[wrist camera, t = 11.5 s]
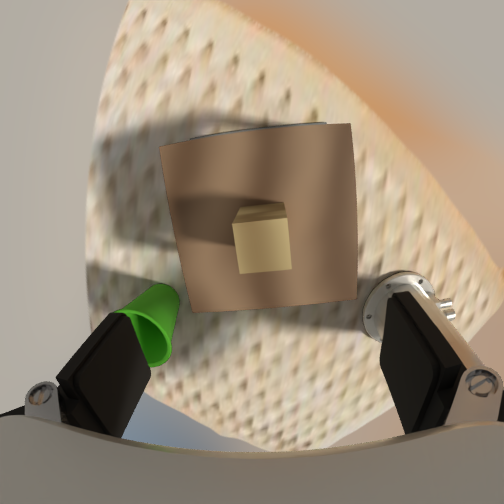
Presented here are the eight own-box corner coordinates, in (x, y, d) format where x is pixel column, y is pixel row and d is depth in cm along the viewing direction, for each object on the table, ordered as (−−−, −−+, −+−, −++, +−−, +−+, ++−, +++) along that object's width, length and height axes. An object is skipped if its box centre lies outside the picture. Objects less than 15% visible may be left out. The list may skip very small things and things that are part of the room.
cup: (129, 275, 42) (94, 312, 32) (182, 266, 41) (155, 306, 31) (149, 324, 45) (122, 367, 35) (199, 319, 44) (181, 366, 34)
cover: (321, 131, 33) (371, 118, 15) (329, 246, 38) (371, 331, 20) (200, 145, 34) (131, 148, 17) (218, 257, 40) (178, 345, 22)
